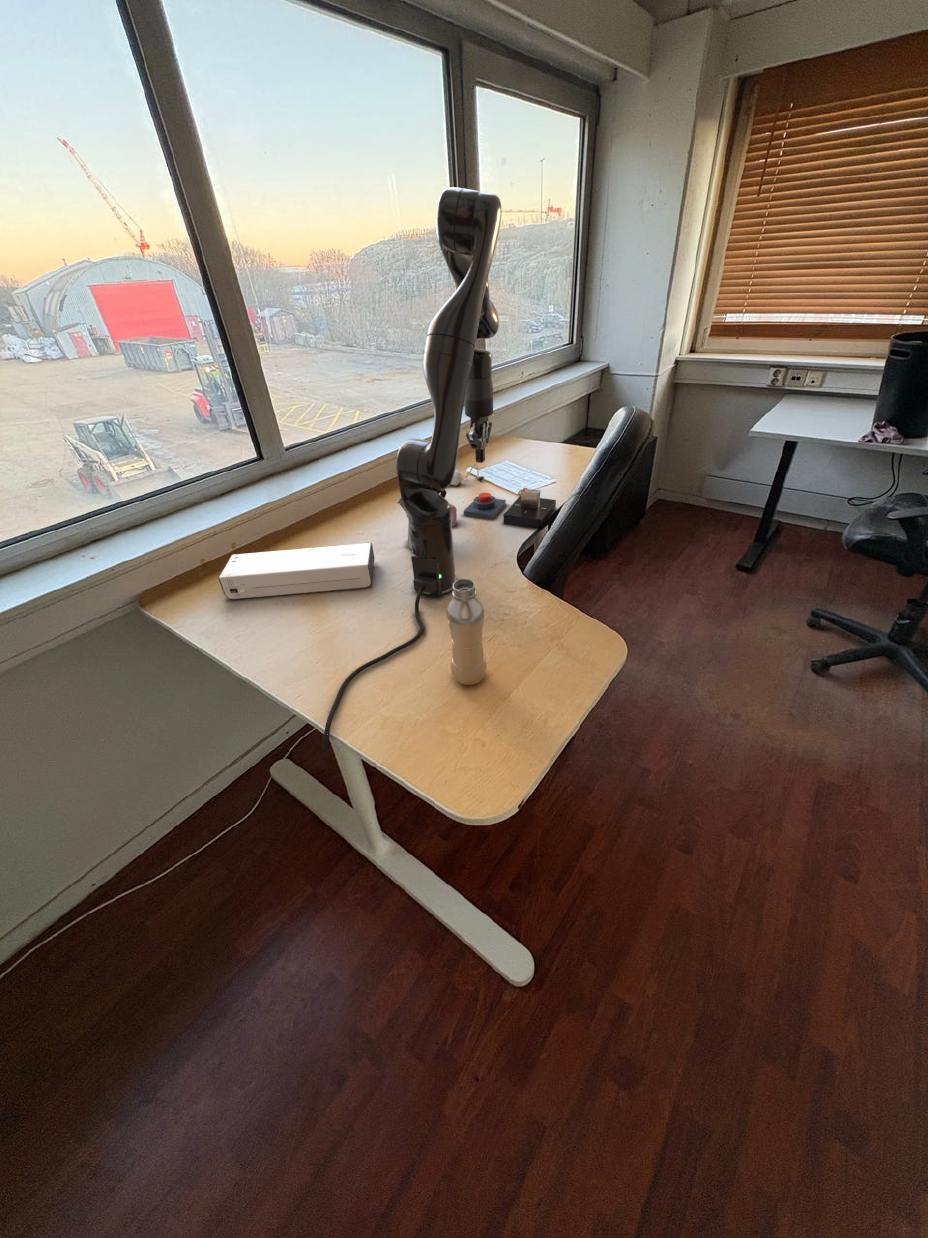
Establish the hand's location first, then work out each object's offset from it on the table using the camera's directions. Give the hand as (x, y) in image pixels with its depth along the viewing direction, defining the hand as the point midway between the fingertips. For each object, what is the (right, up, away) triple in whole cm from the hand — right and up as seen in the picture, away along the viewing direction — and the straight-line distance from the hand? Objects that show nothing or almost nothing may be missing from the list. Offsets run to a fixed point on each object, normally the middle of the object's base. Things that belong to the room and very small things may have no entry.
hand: (480, 461), depth 141 cm
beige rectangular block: (+14, -12, +2) cm, 19 cm away
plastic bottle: (-4, -55, -49) cm, 73 cm away
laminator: (-43, -35, -19) cm, 59 cm away
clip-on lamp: (-7, +2, +30) cm, 30 cm away
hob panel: (+14, -15, +4) cm, 21 cm away
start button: (+1, -9, +7) cm, 12 cm away
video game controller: (-11, -17, +4) cm, 21 cm away
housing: (+2, -12, +9) cm, 15 cm away
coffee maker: (-15, -24, -5) cm, 28 cm away
